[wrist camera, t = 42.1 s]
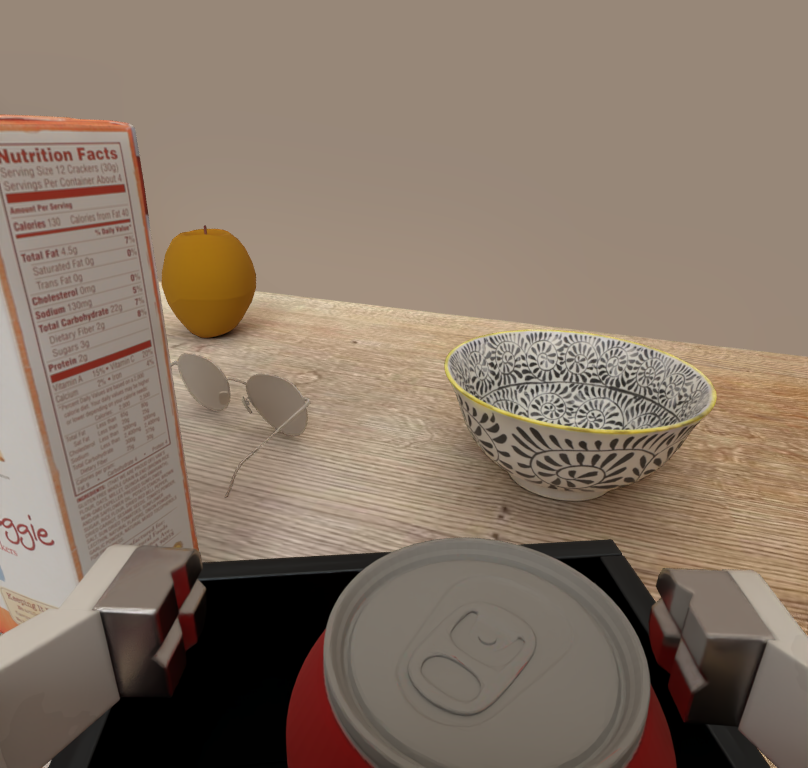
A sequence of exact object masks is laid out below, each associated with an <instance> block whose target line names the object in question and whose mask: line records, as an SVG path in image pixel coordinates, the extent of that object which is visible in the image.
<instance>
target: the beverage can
mask: <svg viewBox="0 0 808 768" xmlns="http://www.w3.org/2000/svg"><path fill="white" fill-rule="evenodd" d="M286 747H287V764H288V768H677V765H676V757H675V752H674V747H673V743H672V738H671V734H670V730H669V727H668V724H667V721H666V718H665V715H664V713H663V710H662V708H661V705H660V703H659V701H658V699H657V696H656V694H655V692H654V690H653V688H652V685H651V683H650V674H649V668H648V663H647V659H646V656H645V653H644V650H643V647H642V645H641V642H640V640H639V637H638V636H637V634H636V632H635V630H634V628H633V627H632V625H631V623H630V622H629V620H628V619H627V617H626V616H625V615H624V613H623V612H622V611H621V609H620V608H619V607H618V606H617V605H616V604H615V602H614V601H613V600H612V599H611V598H610V597H609V596H608V595H607V594H606V593H605V592H604V591H603V590H602V589H600V588H599V587H598V586H597V585H596V584H594V583H593V582H592V581H591V580H589V579H588V578H587V577H585V576H584V575H583V574H581V573H580V572H578V571H576V570H575V569H573V568H571V567H570V566H568V565H566V564H565V563H563V562H561V561H559V560H557V559H555V558H553V557H550V556H548V555H546V554H544V553H541V552H538V551H536V550H533V549H530V548H527V547H524V546H520V545H516V544H512V543H508V542H503V541H498V540H491V539H482V538H445V539H436V540H430V541H425V542H421V543H417V544H413V545H410V546H407V547H404V548H401V549H399V550H396V551H393V552H391V553H389V554H387V555H385V556H384V557H382V558H380V559H378V560H376V561H375V562H373V563H372V564H370V565H369V566H368V567H366V568H365V569H364V570H362V571H361V572H360V573H359V574H358V575H357V576H356V577H355V578H354V579H353V580H352V581H351V582H350V583H349V584H348V585H347V587H346V588H345V589H344V590H343V592H342V593H341V595H340V596H339V598H338V599H337V601H336V603H335V605H334V607H333V609H332V611H331V613H330V616H329V619H328V623H327V626H326V629H325V630H324V632H323V633H322V634H321V636H320V637H319V639H318V640H317V641H316V643H315V644H314V646H313V647H312V649H311V650H310V652H309V654H308V656H307V657H306V659H305V661H304V663H303V665H302V668H301V670H300V672H299V674H298V677H297V679H296V682H295V685H294V688H293V691H292V695H291V699H290V703H289V708H288V715H287V725H286Z"/></svg>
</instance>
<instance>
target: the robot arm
mask: <svg viewBox="0 0 808 768" xmlns="http://www.w3.org/2000/svg"><path fill="white" fill-rule="evenodd" d="M202 569H203V564H202V559H201V554H200V552H199V551H198V550H197V549H191V548H176V547H160V546H144V545H142V546H138V545H121V544H114V545H112V546H110V547H108V548H107V549H106V550H105V551H104V552H103V554H102V555H101V556H100V557H99V559H98V560H97V561H96V562H95V564H94V565H93V566H92V567H91V569H90V570H89V571H88V572H87V574H86V575H85V576H84V577H83V579H82V580H81V581H80V582H79V584H78V585H77V586H76V587H75V589H74V590H73V591H72V592H71V594H70V595H69V596H68V597H67V599H66V600H65V601H64V602H63V604H62V605H61V606H60V607H59V609H48V610H46V611H44V612H42V613H40V614H39V615H37V616H35V617H33V618H31V619H29V620H28V621H26V622H24V623H22V624H20V625H18V626H16V627H15V628H13V629H11V630H9V631H7V632H5V633H4V634H2V635H0V768H42V767H43V766H44V765H46V764H47V763H48V762H49V761H50V760H51V759H52V758H54V757H55V756H56V755H57V754H58V753H59V752H60V751H62V750H63V749H64V748H65V747H66V746H67V745H68V744H70V743H71V742H72V741H73V740H74V739H75V738H77V737H78V736H79V735H80V734H81V733H82V732H83V731H85V730H86V729H87V728H88V727H89V726H90V725H91V724H93V723H94V722H95V721H96V720H97V719H98V718H99V717H101V716H102V715H103V714H104V713H105V712H106V711H108V710H109V709H110V708H111V707H112V706H113V705H114V704H116V703H117V702H118V701H119V700H120V697H166V698H171V697H172V695H173V693H174V691H175V689H176V687H177V685H178V682H179V680H180V678H181V676H182V674H183V672H184V670H185V668H186V665H187V660H186V653H185V651H186V650H188V649H189V648H191V647H192V646H193V645H195V644H196V643H197V642H198V639H199V637H200V635H201V633H202V630H203V627H204V623H205V618H206V614H207V592H206V587H205V586H204V585H203V584H202V583H201V582H200V581H199V580H198V579H197V578H198V576H199V574H200V573H201V571H202ZM656 587H657V590H658V592H659V594H660V596H661V599H659V600H658V601H657V602H656V603H655V604H654V605H653V606H651V611H650V616H649V622H648V624H649V639H650V643H651V647H652V651H653V654H654V656H655V658H656V661H657V663H658V664H659V665H660V666H661V667H662V668H664V669H665V670H666V671H667V672H668V673H670V674H671V675H670V679H669V683H668V688H669V691H670V693H671V695H672V697H673V700H674V702H675V704H676V706H677V709H678V711H679V713H680V715H681V718H682V720H683V722H684V723H696V724H709V725H722V726H735V727H738V730H739V731H740V732H741V733H742V734H743V735H744V736H745V737H746V738H747V739H748V740H749V741H750V742H751V743H752V744H754V745H755V746H756V747H757V748H758V749H759V750H760V751H761V752H762V753H763V754H764V755H765V756H766V757H767V758H768V759H769V760H770V761H771V762H772V763H773V764H774V765H775V766H776V767H777V768H808V636H807V635H806V634H805V632H804V631H803V630H802V629H801V627H800V626H799V625H798V623H797V622H796V621H795V619H794V618H793V617H792V616H791V614H790V613H789V612H788V610H787V609H786V608H785V606H784V605H783V604H782V603H781V601H780V600H779V599H778V597H777V596H776V595H775V594H774V592H773V591H772V590H771V588H770V587H769V586H768V584H767V583H766V582H765V581H764V579H763V578H762V577H761V575H760V574H758V573H757V572H755V571H753V570H734V569H722V570H705V569H676V568H663V569H662V571H661V572H660V574H659V576H658V580H657V584H656Z"/></svg>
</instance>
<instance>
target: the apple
mask: <svg viewBox="0 0 808 768" xmlns="http://www.w3.org/2000/svg"><path fill="white" fill-rule="evenodd" d="M162 288H163V291H164V294H165V296H166V299H167V302H168V304H169V306H170V307H171V309H172V311H173V312H174V314H175V315H176V317H177V318H178V319H179V320H180V321H181V323H182V324H183V325H184V326H185V327H186V328H187V329H188V330H189V331H190V332H191V333H192V334H194V335H197V336H199V337H203V338H209V337H215V336H218V335H222V334H225V333H227V332H230V331H231V330H233V329H234V328H235V327H236V326H237V325H238V324H239V322H240V321H241V320H242V318H243V316H244V314H245V313H246V311H247V309H248V307H249V305H250V304H251V302H252V299H253V296H254V292H255V289H256V273H255V270H254V267H253V263H252V261H251V259H250V257H249V255H248V253H247V251H246V249H245V247H244V246H243V245H242V244H241V242H240V241H239V240H238V239H237V238H236V237H234V236H233V235H232V234H231V233H229V232H228V231H225V230H220V229H206V226H204V229H198V230H193V231H190V232H183V233H180V234H179V235H177V236H176V237H175V238H174V239H173V240H172V242H171V243H170V245H169V247H168V249H167V252H166V254H165V259H164V265H163V270H162Z"/></svg>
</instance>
